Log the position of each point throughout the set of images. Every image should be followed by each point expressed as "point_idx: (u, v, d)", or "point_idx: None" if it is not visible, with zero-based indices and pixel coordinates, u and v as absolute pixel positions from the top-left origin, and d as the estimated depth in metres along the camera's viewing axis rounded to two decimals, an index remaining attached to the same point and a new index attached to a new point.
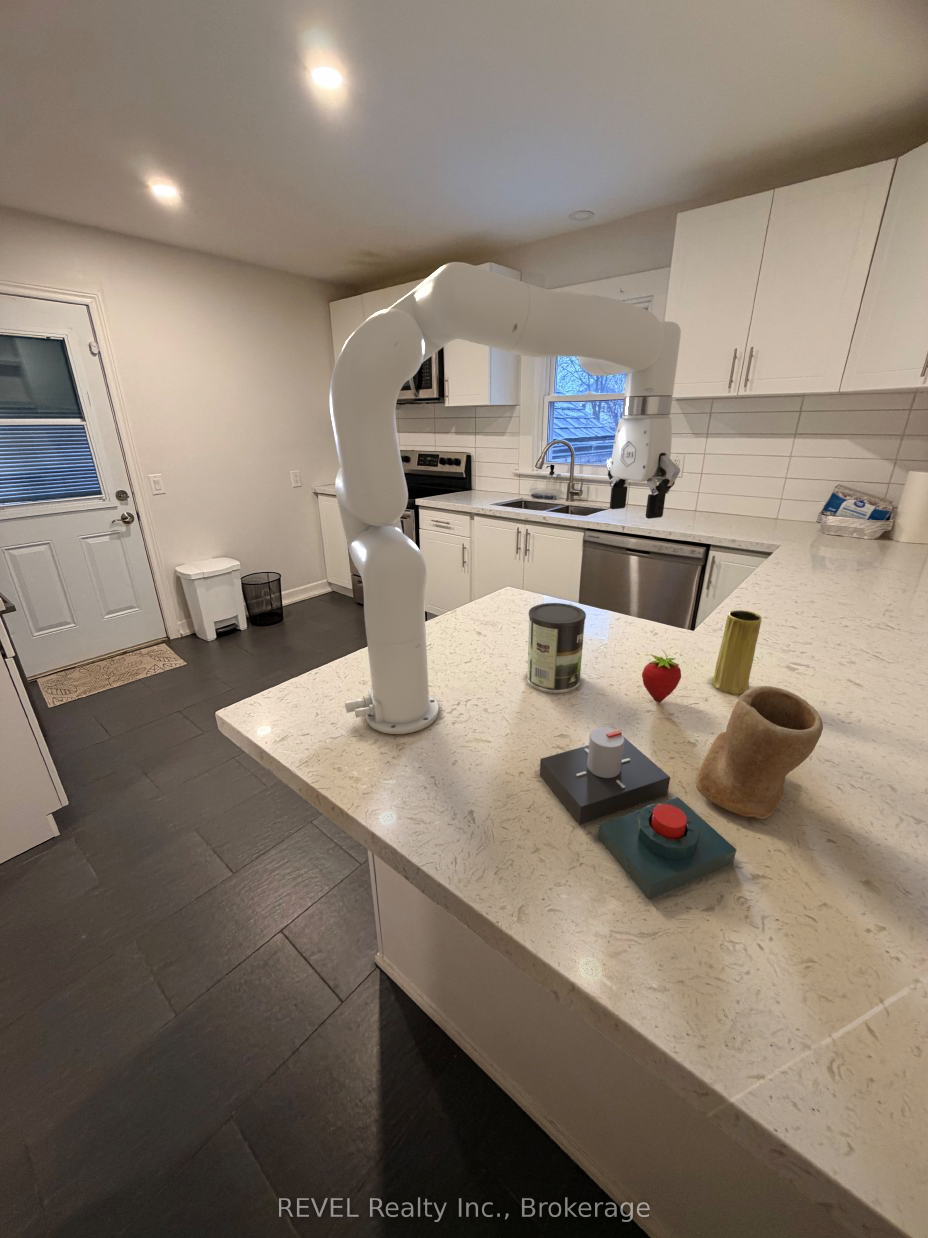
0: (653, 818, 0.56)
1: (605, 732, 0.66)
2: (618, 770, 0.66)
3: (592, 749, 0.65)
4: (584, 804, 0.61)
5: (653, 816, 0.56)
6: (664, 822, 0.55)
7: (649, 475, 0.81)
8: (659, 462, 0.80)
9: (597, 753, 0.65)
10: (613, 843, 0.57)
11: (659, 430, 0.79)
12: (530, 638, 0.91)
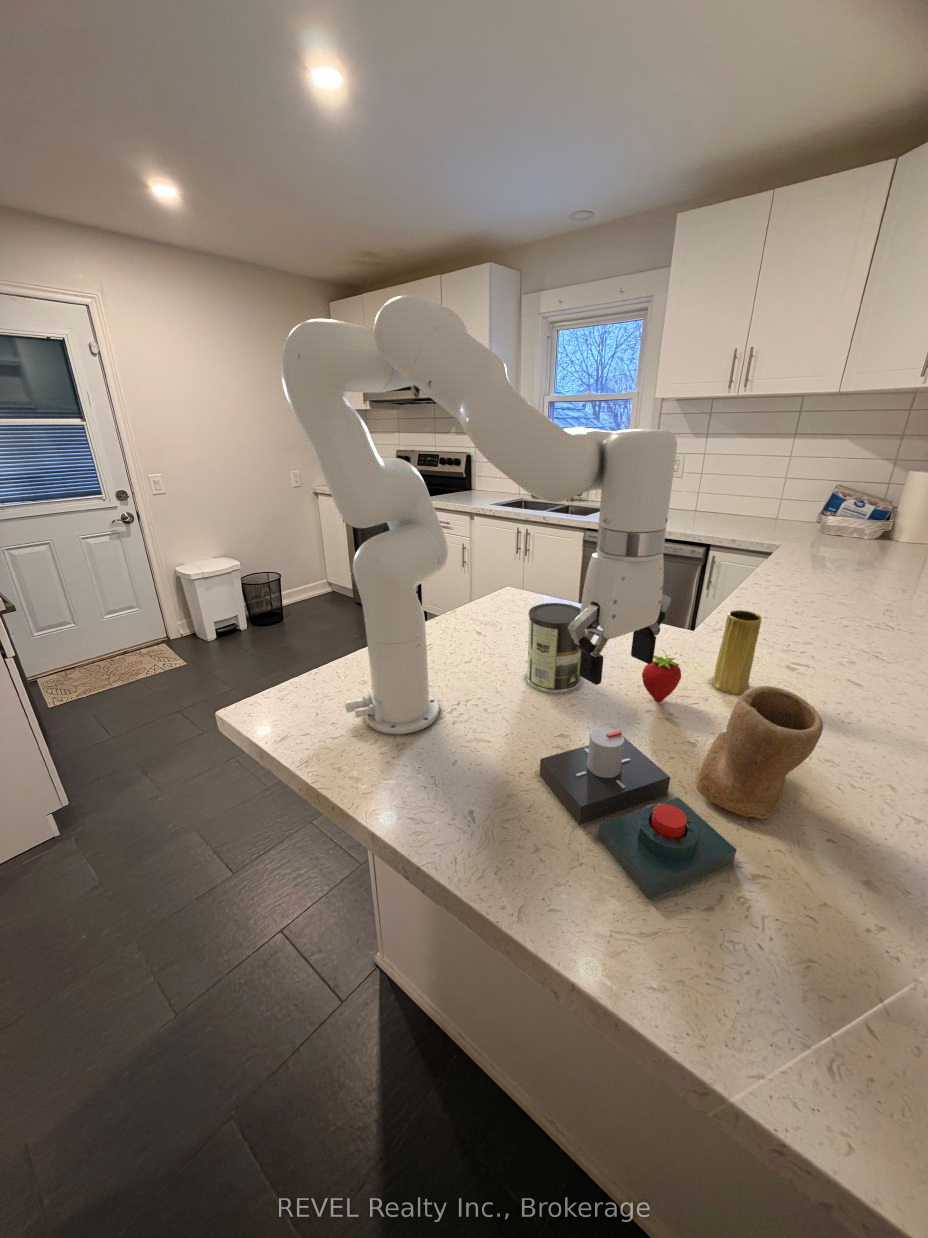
0: (653, 818, 0.56)
1: (605, 732, 0.66)
2: (618, 770, 0.66)
3: (592, 749, 0.65)
4: (584, 804, 0.61)
5: (653, 816, 0.56)
6: (664, 822, 0.55)
7: None
8: None
9: (597, 753, 0.65)
10: (613, 843, 0.57)
11: (592, 572, 0.58)
12: (530, 638, 0.91)
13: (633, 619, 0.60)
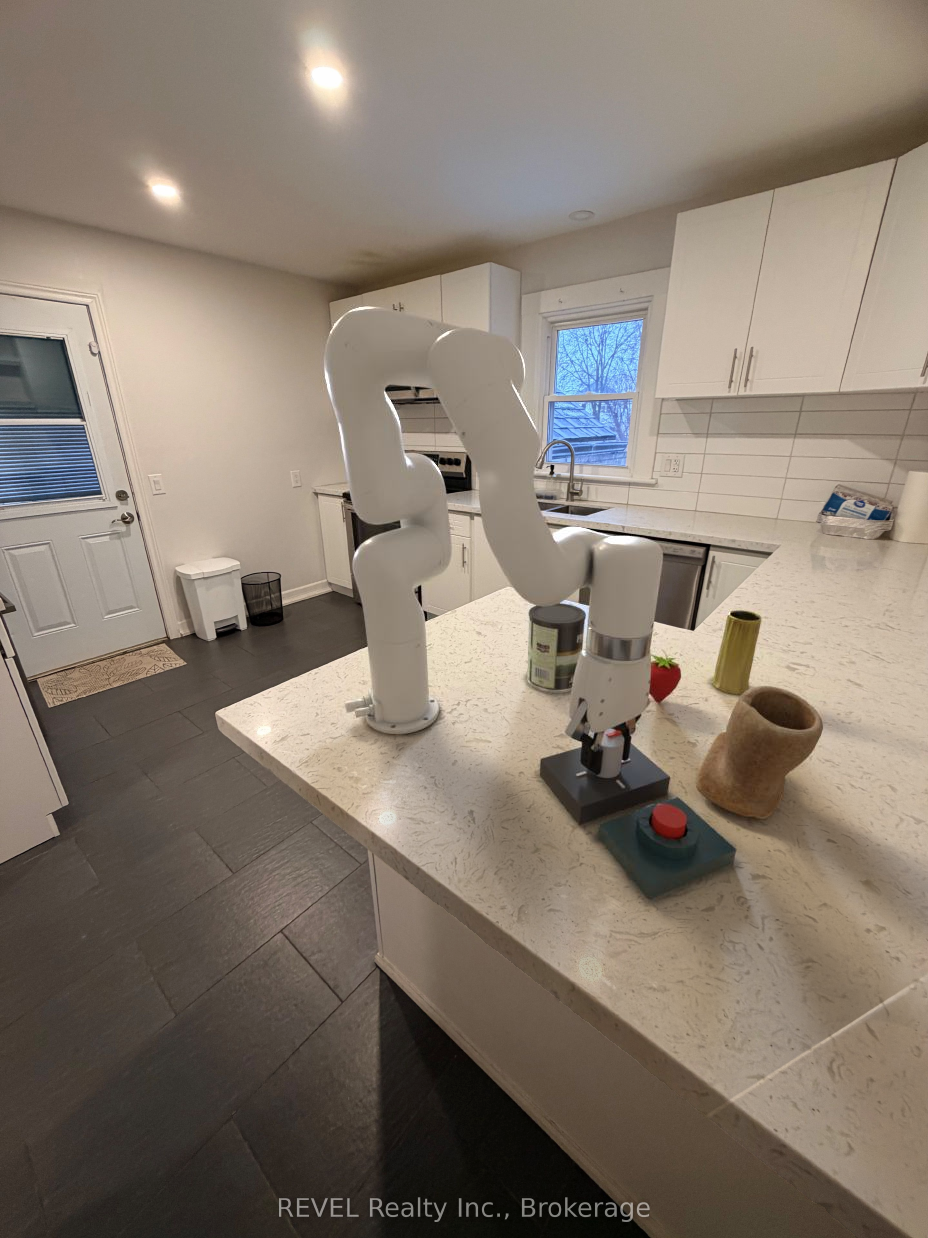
0: (653, 818, 0.56)
1: (605, 732, 0.66)
2: (618, 770, 0.66)
3: None
4: (584, 804, 0.61)
5: (653, 816, 0.56)
6: (664, 822, 0.55)
7: (570, 714, 0.63)
8: None
9: None
10: (613, 843, 0.57)
11: (581, 670, 0.60)
12: (530, 638, 0.91)
13: (620, 713, 0.61)
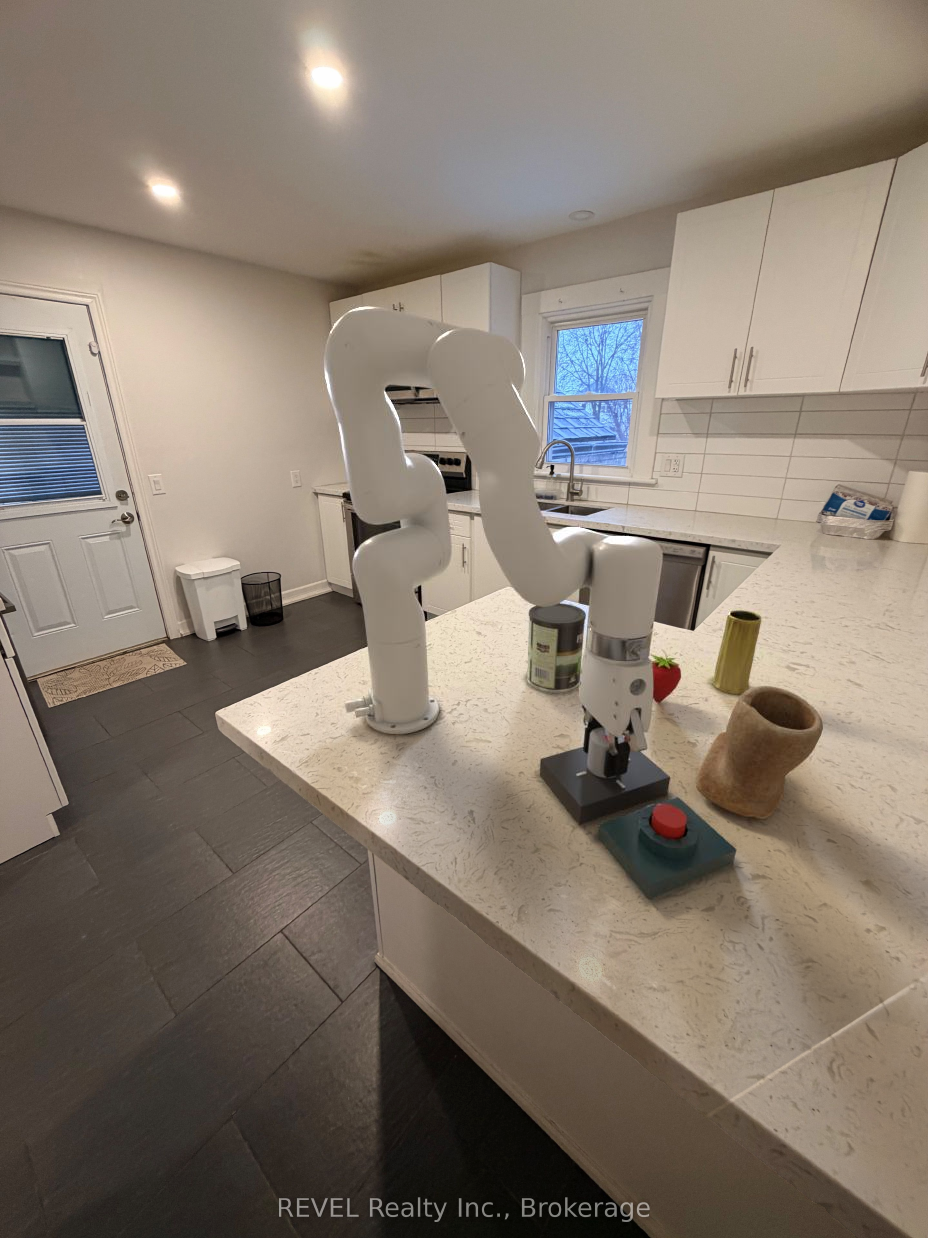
0: (653, 818, 0.56)
1: None
2: (591, 767, 0.66)
3: None
4: (584, 804, 0.61)
5: (653, 816, 0.56)
6: (664, 822, 0.55)
7: None
8: None
9: None
10: (613, 843, 0.57)
11: None
12: (530, 638, 0.91)
13: (592, 704, 0.63)
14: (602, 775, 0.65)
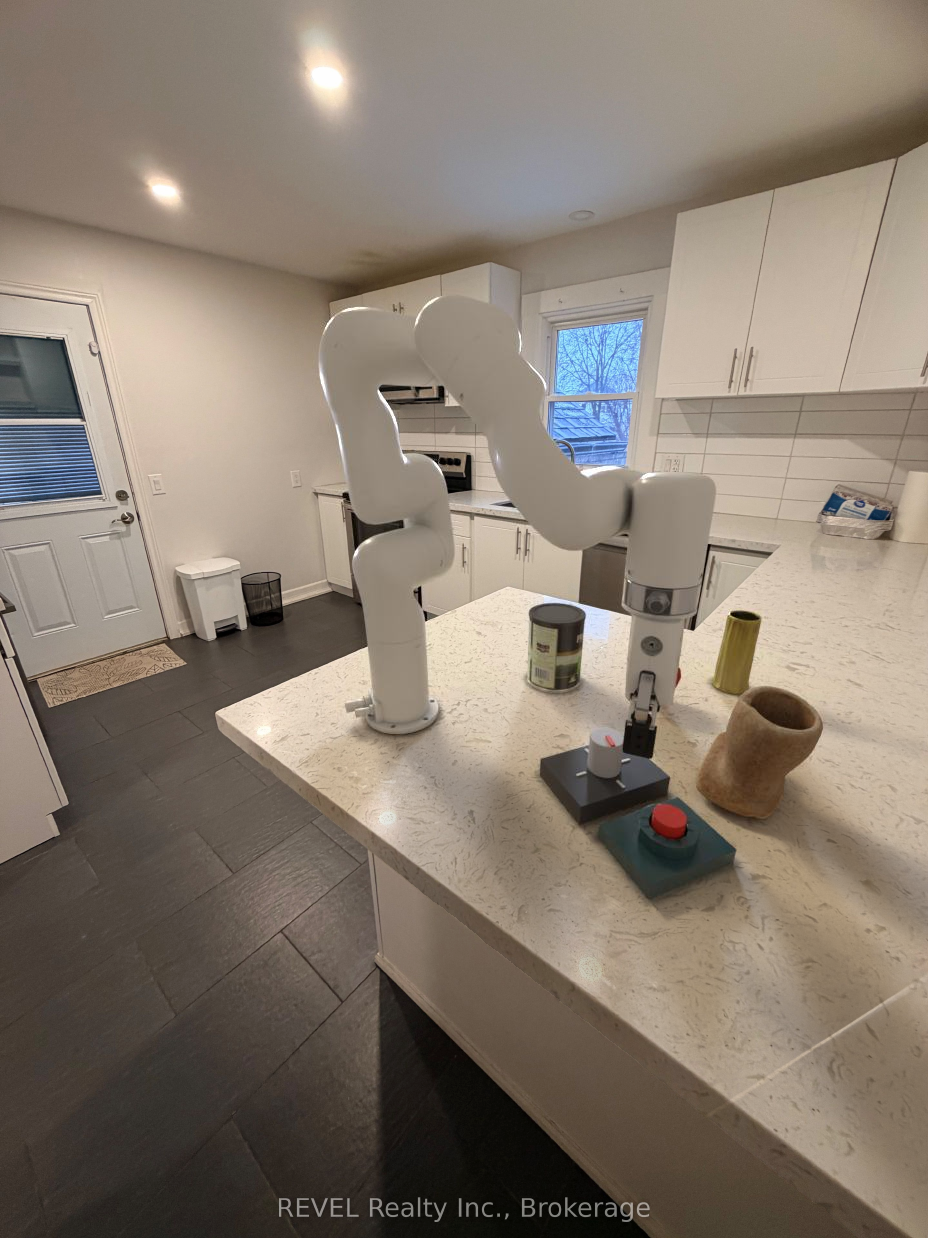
0: (653, 818, 0.56)
1: (614, 738, 0.65)
2: (591, 767, 0.66)
3: None
4: (584, 804, 0.61)
5: (653, 816, 0.56)
6: (664, 822, 0.55)
7: None
8: None
9: None
10: (613, 843, 0.57)
11: None
12: (530, 638, 0.91)
13: None
14: (602, 775, 0.65)
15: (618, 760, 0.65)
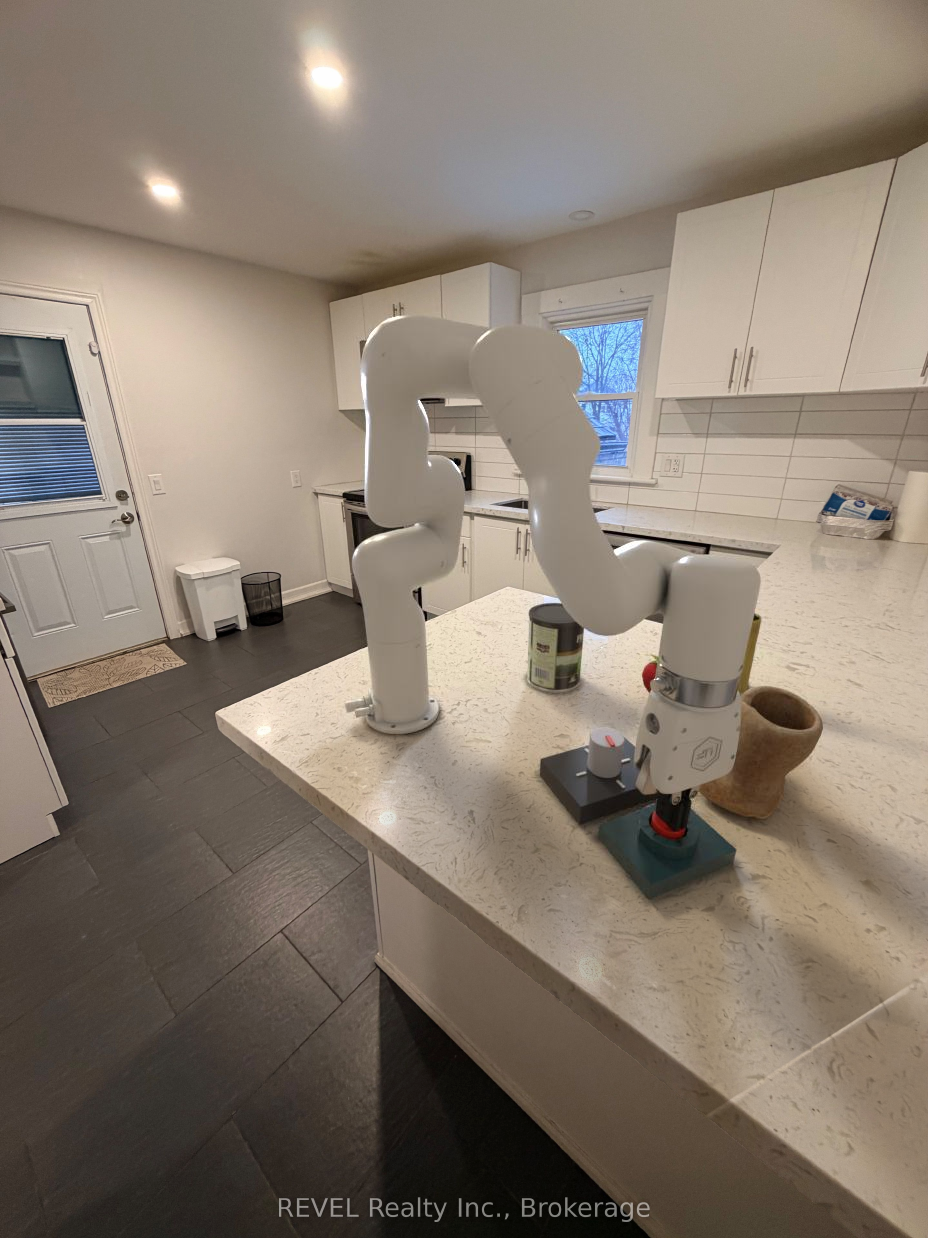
0: (652, 822, 0.57)
1: (614, 738, 0.65)
2: (591, 767, 0.66)
3: None
4: (584, 804, 0.61)
5: (652, 821, 0.57)
6: (663, 827, 0.56)
7: None
8: None
9: None
10: (613, 843, 0.57)
11: None
12: (530, 638, 0.91)
13: None
14: (602, 775, 0.65)
15: (618, 760, 0.65)
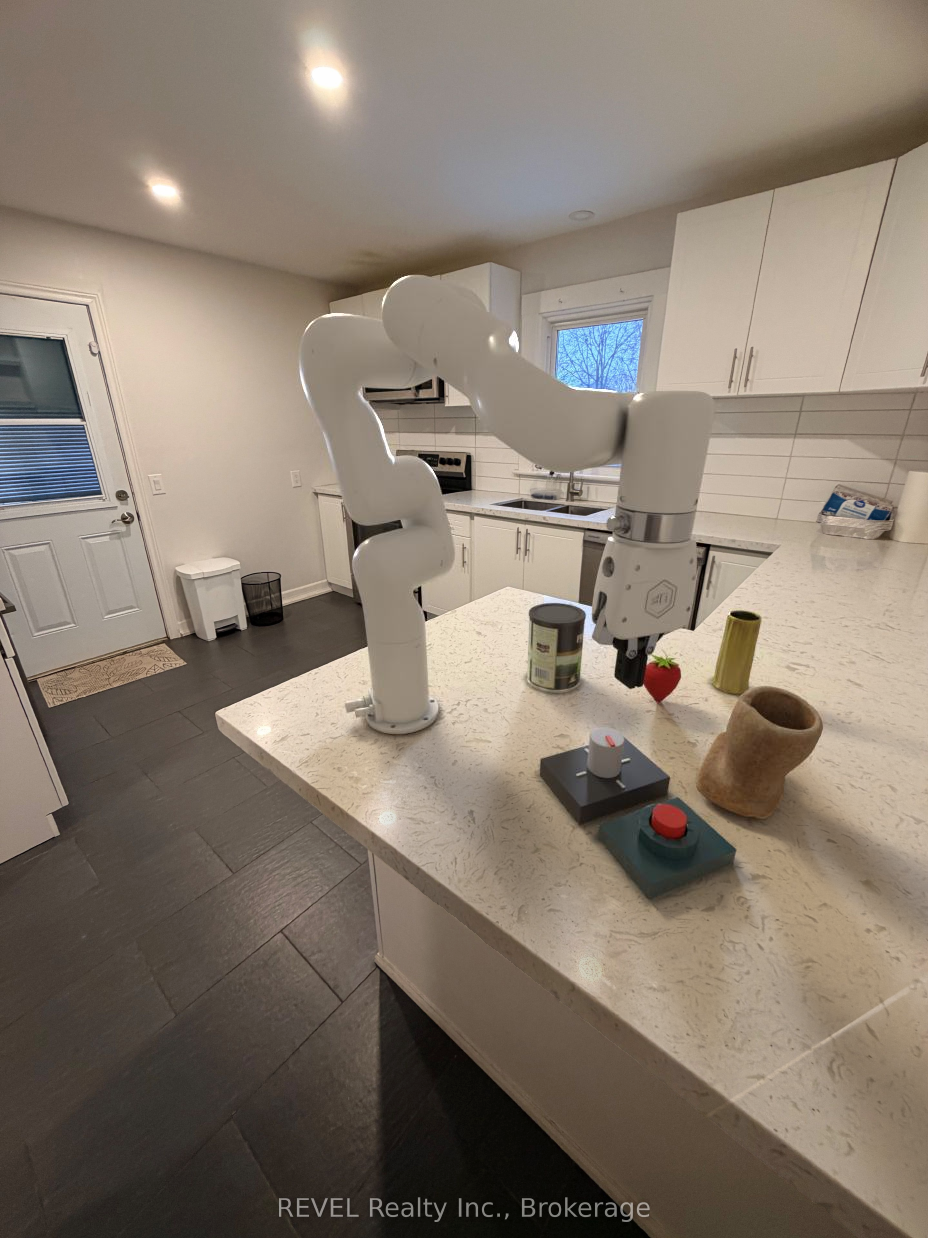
0: (653, 818, 0.56)
1: (614, 738, 0.65)
2: (591, 767, 0.66)
3: None
4: (584, 804, 0.61)
5: (653, 816, 0.56)
6: (664, 822, 0.55)
7: None
8: None
9: None
10: (613, 843, 0.57)
11: None
12: (530, 638, 0.91)
13: None
14: (602, 775, 0.65)
15: (618, 760, 0.65)
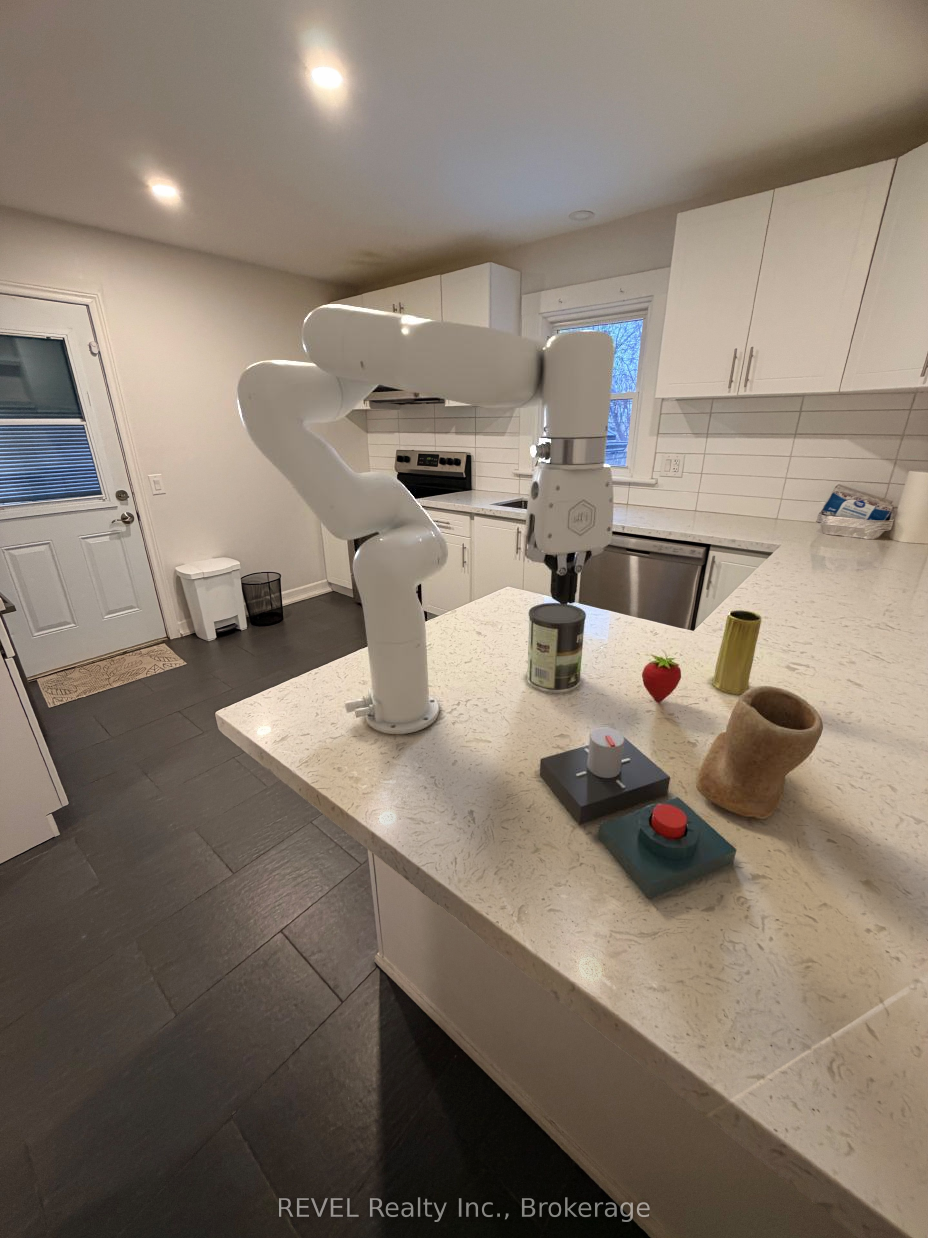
0: (653, 818, 0.56)
1: (614, 738, 0.65)
2: (591, 767, 0.66)
3: None
4: (584, 804, 0.61)
5: (653, 816, 0.56)
6: (664, 822, 0.55)
7: None
8: None
9: None
10: (613, 843, 0.57)
11: None
12: (530, 638, 0.91)
13: None
14: (602, 775, 0.65)
15: (618, 760, 0.65)
